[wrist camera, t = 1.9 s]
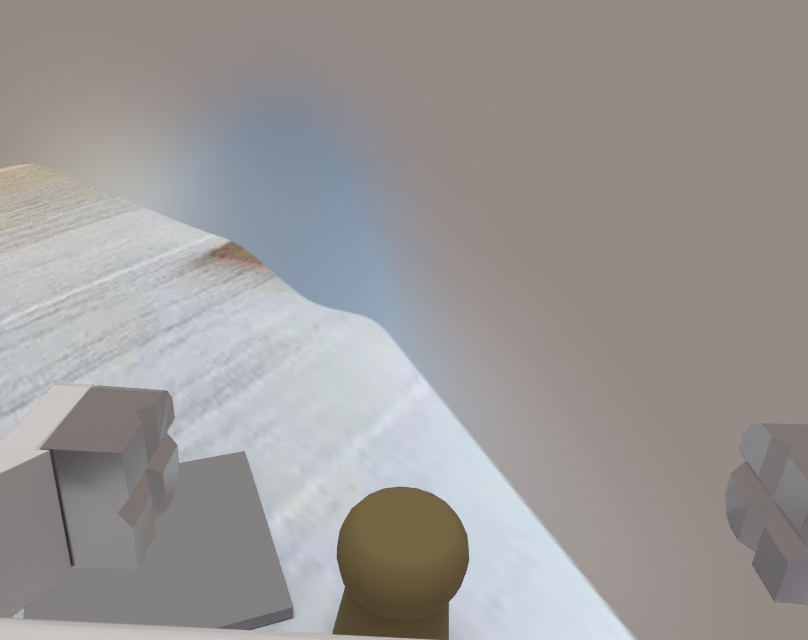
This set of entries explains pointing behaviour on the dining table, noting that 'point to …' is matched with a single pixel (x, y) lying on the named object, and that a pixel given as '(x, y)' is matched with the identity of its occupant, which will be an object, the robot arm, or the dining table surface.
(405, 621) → the olive brown pawn
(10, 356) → the dining table surface
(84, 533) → the robot arm
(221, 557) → the plate
